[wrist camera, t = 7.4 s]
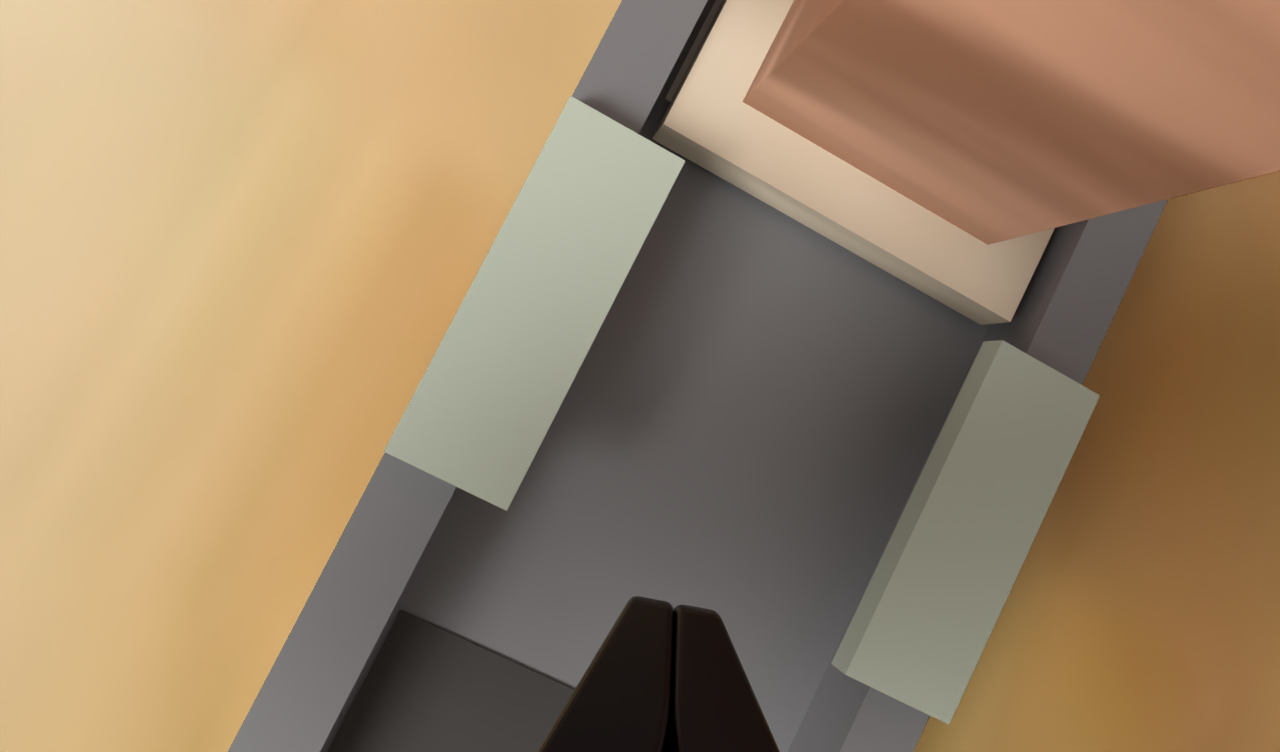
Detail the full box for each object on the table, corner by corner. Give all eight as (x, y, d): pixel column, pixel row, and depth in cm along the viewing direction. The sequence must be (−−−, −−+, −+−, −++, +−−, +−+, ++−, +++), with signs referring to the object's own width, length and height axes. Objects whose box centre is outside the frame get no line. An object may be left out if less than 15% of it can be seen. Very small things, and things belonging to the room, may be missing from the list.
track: (701, 986, 19) (760, 1137, 15) (216, 786, 17) (148, 900, 14) (1119, 97, 20) (1265, 35, 17) (711, -159, 19) (773, -290, 15)
